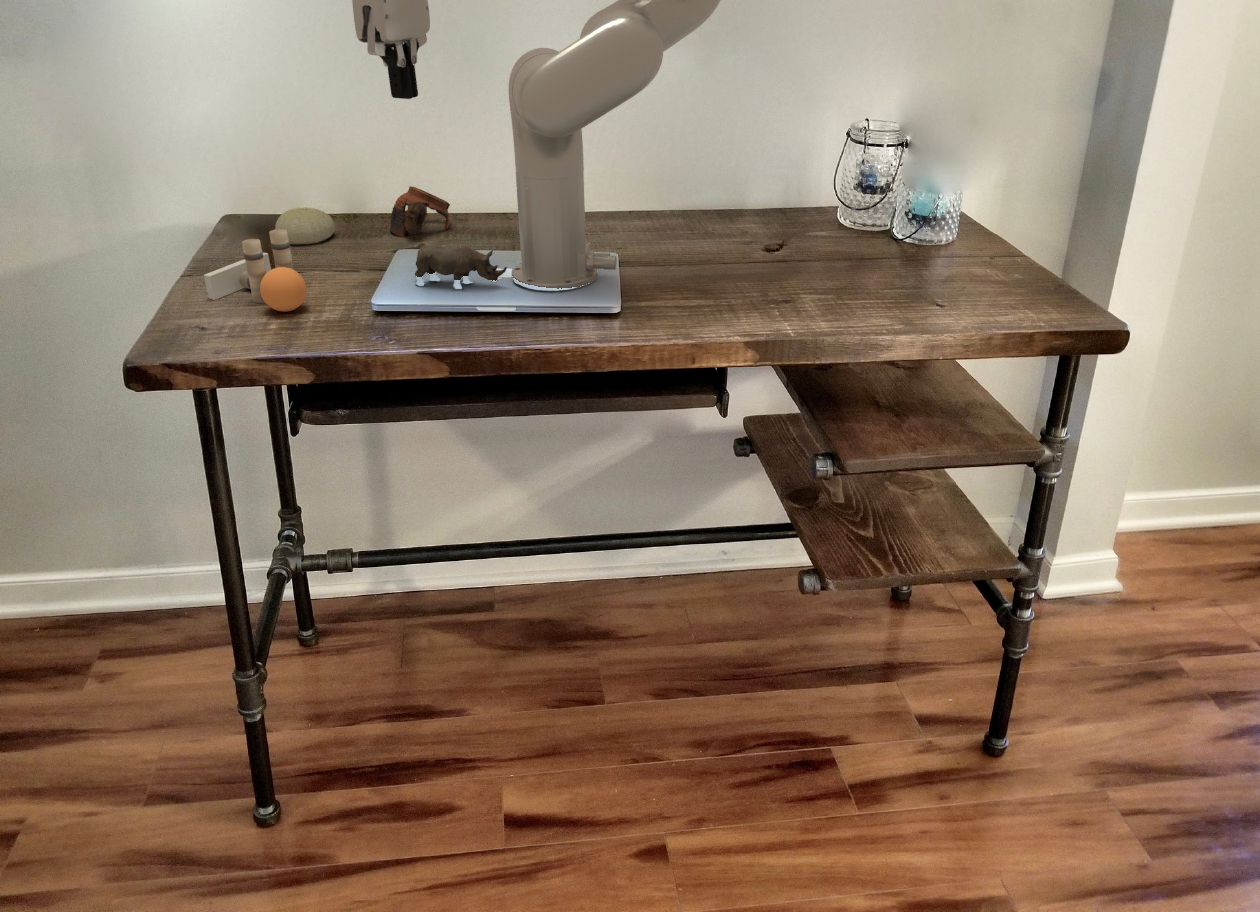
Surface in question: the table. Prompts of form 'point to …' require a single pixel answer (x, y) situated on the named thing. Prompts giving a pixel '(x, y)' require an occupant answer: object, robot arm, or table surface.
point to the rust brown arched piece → (415, 211)
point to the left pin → (254, 266)
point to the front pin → (245, 280)
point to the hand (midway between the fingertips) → (405, 97)
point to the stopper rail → (228, 278)
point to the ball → (283, 289)
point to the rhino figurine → (455, 262)
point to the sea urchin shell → (306, 225)
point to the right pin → (281, 248)
